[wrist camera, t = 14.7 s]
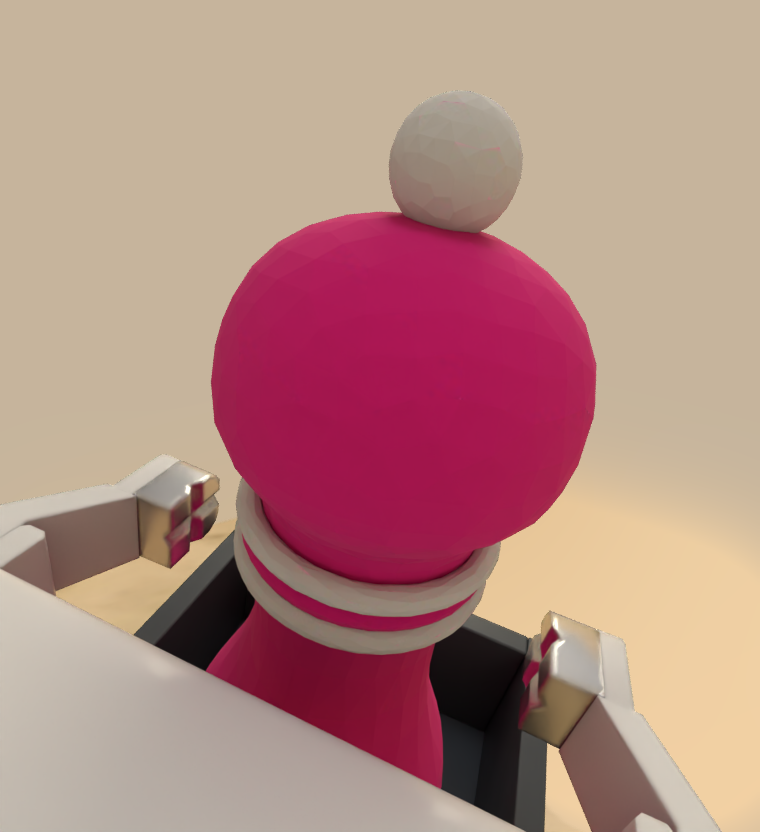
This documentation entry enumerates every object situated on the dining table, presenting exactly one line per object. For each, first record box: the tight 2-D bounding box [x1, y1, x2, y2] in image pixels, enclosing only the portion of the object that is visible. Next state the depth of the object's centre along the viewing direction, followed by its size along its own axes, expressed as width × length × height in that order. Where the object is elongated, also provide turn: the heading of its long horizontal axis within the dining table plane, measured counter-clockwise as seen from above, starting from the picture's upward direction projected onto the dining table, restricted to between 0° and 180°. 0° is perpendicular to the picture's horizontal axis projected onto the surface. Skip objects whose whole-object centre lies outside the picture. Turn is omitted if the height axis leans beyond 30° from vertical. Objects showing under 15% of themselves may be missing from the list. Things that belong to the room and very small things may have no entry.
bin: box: [134, 530, 547, 832], centre depth 15 cm, size 13×13×6 cm
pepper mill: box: [206, 91, 596, 789], centre depth 11 cm, size 7×7×20 cm
